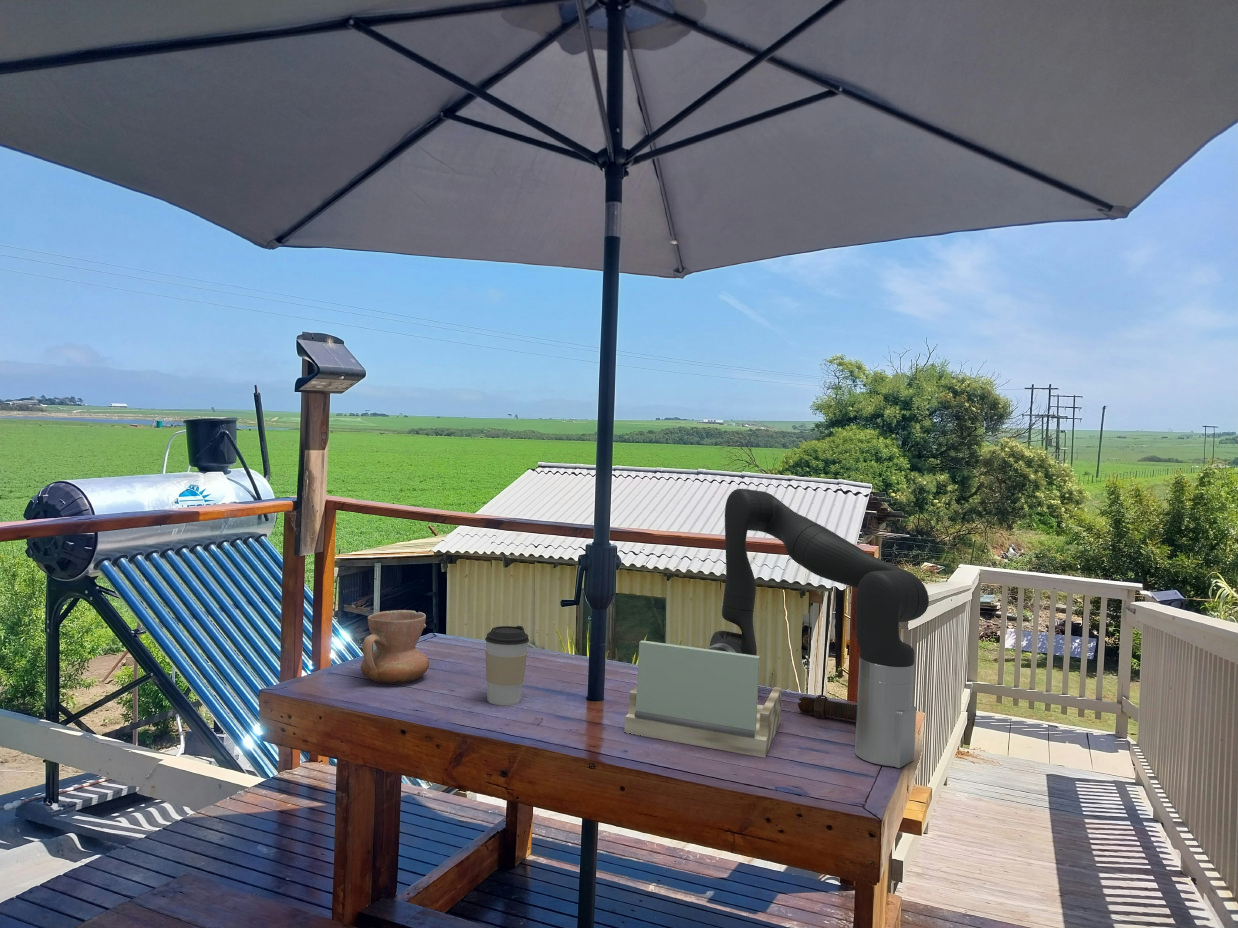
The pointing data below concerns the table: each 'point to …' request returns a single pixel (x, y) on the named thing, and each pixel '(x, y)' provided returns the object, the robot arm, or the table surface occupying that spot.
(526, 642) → the coffee cup
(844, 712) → the bolt
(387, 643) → the ceramic jug
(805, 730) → the table surface
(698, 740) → the cart bed
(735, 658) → the panel
